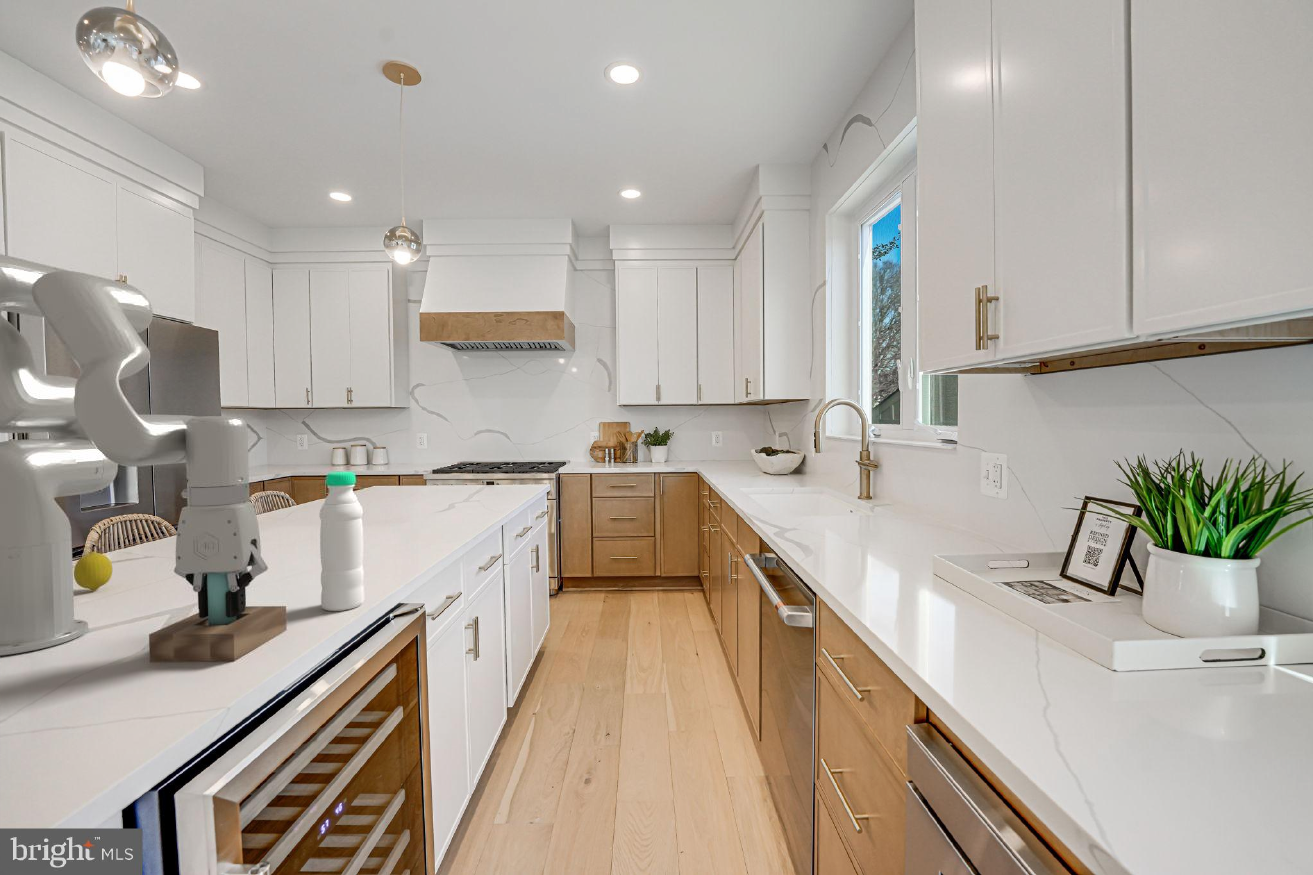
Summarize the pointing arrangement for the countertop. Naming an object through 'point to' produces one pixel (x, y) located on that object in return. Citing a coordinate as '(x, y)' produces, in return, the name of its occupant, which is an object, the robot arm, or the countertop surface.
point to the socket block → (217, 636)
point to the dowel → (218, 599)
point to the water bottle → (341, 545)
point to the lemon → (93, 571)
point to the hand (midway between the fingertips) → (222, 613)
